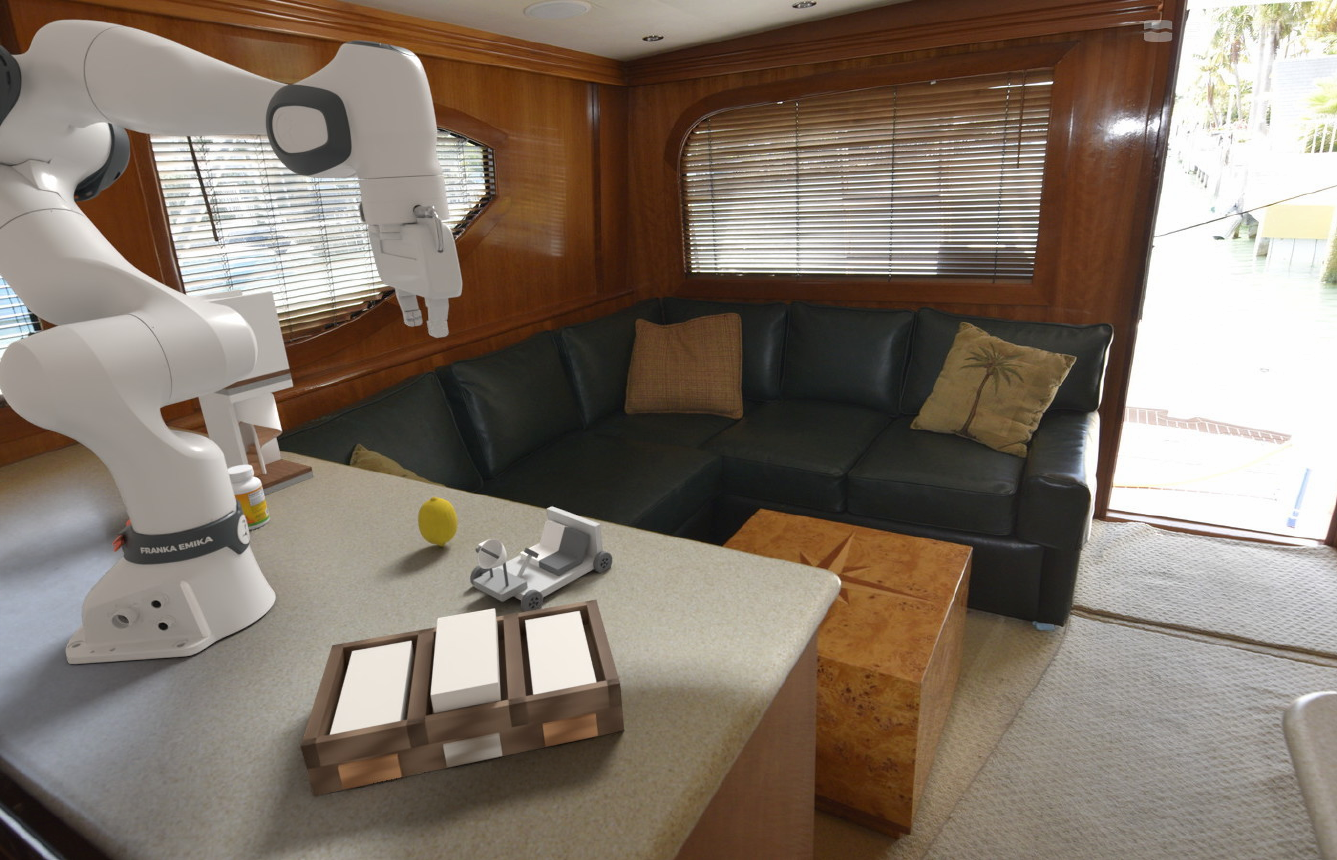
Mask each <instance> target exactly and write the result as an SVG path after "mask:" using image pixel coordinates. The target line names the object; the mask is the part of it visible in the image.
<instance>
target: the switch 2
mask: <svg viewBox="0 0 1337 860" xmlns="http://www.w3.org/2000/svg"><path fill="white" fill-rule="evenodd" d="M496 617H497V612H496V608H490V609H484V610H476V611H472V612H471V611H470V612H466V613H459V614H455V615H448V616H442V617H438V618H437V622H436V627H437V631H436V642H435V653H434V663H433V674H432V685H431V700H432V705H433V711H434V713H438V712H443V711H448V710H453V709H458V708H463V707H469V706H474V705H479V704H484V703H489V702H494V701H499V700H501V695H500V673H499V650H498V628H497V619H496Z"/></svg>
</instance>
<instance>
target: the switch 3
mask: <svg viewBox="0 0 1337 860" xmlns="http://www.w3.org/2000/svg"><path fill="white" fill-rule="evenodd" d="M525 623H526V632H527V641H528V650H529V660H530V669H531V678H532V687H533V695H534V694H540V693H545V692H550V691H555V690H560V689H565V688H570V687H575V686H580V685H585V684H590V683H596V678H595V674H594V670H593V665H592V661H591V657H590V653H589V649H588V644H587V640H586V636H585V632H584V628H583V624H582V619H581V615H580V611H576V612H570V613H564V614H559V615H553V616H547V617H542V618H536V619H530V620H525Z"/></svg>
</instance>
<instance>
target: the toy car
mask: <svg viewBox="0 0 1337 860" xmlns="http://www.w3.org/2000/svg"><path fill="white" fill-rule="evenodd" d="M546 515H547V519H545V522H544V526H543V529H542V533H541V537H540V540H539V542H538V543H536V544H534V545H533V546H530V547H525V549H524V550H523V551H521V552H519V555H518V556H515V557H513V558H511V559H510V560H507V559H508V558H507V557H508V555H507V554H508V553H507V550H506V547H505V546H504V544H503V542H502V541H501V539H500V538H497V537H493V538H489V539H487V540H484V541H482V542H480V543H478V544H477V546H478V547H476V548H475V552H476V554H477V564H478V565H477V566H475V567H474V568H473V570H472V571H471V573H470V577H469V581H470V583H471V585H472V586H474V587H473V588H476V589H477V590H479V591H481V592H483V593H485V594H487V595H489V596H491V597H492V598H494V599H496V600H498V601H500V602H502V603H504V602H505V601H507V600H508V599H510V598H513V597H514V598H515V599H518V600H520V608H521V610H522V612H527V611H533V610H539V609H542V606H543V603H544V597H545V598H546V596H548V595H550V594H552V593H554V592H555V591H557V590H559V589H561V588H562V587H564V586H566V585H568V584H570V583H572V582H574V581H575V580H577V579H578V578H580V577H582V576H584V575H586V574H587V573H589V572H592V571H595V572H597V573H598V574H601V573H603V572H604V571H606V570H608V569H611V567H612V566H613V565H612V564H613V556H612V554H611V553H610V552H608V551H606V550H603V539H602V527H601V523H600V522H596V521H593V520H591V519H587V518H585V517H583V516H579V515H576V514H574V513H571V512H568V511H567V510H563V509H560V508H557V507H554V506H550V507H548V508H546Z"/></svg>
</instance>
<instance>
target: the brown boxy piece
mask: <svg viewBox="0 0 1337 860" xmlns="http://www.w3.org/2000/svg"><path fill="white" fill-rule="evenodd" d="M576 611H580V615H581V619H582V624H583V628H584V632H585V636H586V640H587V644H588V649H589V653H590V657H591V661H592V665H593V670H594V674H595V678H596V683H590V684H585V685H580V686H575V687H570V688H565V689H560V690H555V691H550V692H545V693H540V694H534V695H533V687H532V678H531V669H530V660H529V650H528V641H527V632H526V623H525V620H530V619H536V618H542V617H547V616H553V615H559V614H564V613H570V612H576ZM496 619H497V628H498V650H499V673H500V695H501V700H499V701H494V702H489V703H484V704H479V705H474V706H469V707H463V708H458V709H453V710H448V711H443V712H438V713H434V711H433V705H432V700H431V685H432V674H433V663H434V653H435V642H436V631H437V626H436V627H430V628H424V629H423V628H422V629H419V630H413V631H407V632H400V633H396V634H391V635H390V634H389V635H385V636H383V635H382V636H377V637H371V638H366V639H361V640H355V641H350V642H343V643H337V644H333V645H331V647H330V651H329V654H328V657H327V661H326V664H325V667H324V671H323V674H322V676H321V677H322V678H321V680H320V684H319V686H318V690H317V693H316V696H315V699H314V701H313V704H312V705H313V706H312V709H311V712H310V715H309V719H308V720H307V725H306V728H305V730H304V731H305V732H304V734H303V738H302V740H301V743H300V746H299V747H300V749H301V753H302V757H303V762H304V766H305V769H306V772H307V776H308V780H309V784H310V789H311V792H312V796H313V797H316V796H321V795H326V794H330V793H335V792H339V791H344V790H345V791H346V790H349V789H350V790H351V789H354V788H358V787H364V786H369V785H374V784H377V782H378V783H382V782H381V781H383V782H387V781H386V780H388V781H392V780H397V779H401V777H402V778H406V777H405V776H407V777H410V776H415V774H416V775H420V774H419V773H421V774H425V773H424V772H426V773H428V771H430V772H434V771H439V770H443V769H449V768H453V767H458V766H459V767H460V766H463V765H467V764H471V763H476V762H477V763H478V762H482V761H487V760H492V759H497V758H500V757H501V758H502V757H505V756H509V755H510V756H511V755H515V754H520V753H523V752H529V751H533V750H534V751H535V750H537V749H543V748H547V747H552V746H558V745H562V744H567V743H572V742H577V741H580V740H581V741H582V740H584V739H591V738H595V737H600V736H606V735H609V734H613V733H619V732H623V731H625V723H624V722H625V721H624V712H623V702H622V699H623V698H622V689H621V687H622V686H621V681H620V679H619V674H618V671H617V668H616V667H617V666H616V665H615V661H614V657H613V654H612V653H613V652H612V651H611V646H610V643H609V640H608V635H607V633H606V629H605V626H604V622H603V618H602V615H601V612H600V608H599V604H598V601H597V599H592V600H587V601H580V602H574V603H569V604H562V605H556V606H551V607H550V606H549V607H545V608H539V609H537V610H533V611H527V612H524V611H522V612H515V613H511V614H505V615H500V616H496ZM407 641H412V645H413V650H414V655H415V659H414V666H413V674H412V681H411V689H410V696H409V704H408V711H407V719H406V720H402V721H397V722H392V723H387V724H382V725H377V726H372V727H367V728H361V729H356V730H351V731H346V732H341V733H336V734H331V735H330V732H331V728H332V725H333V721H334V717H335V714H336V710H337V706H338V702H339V699H340V695H341V691H342V687H343V684H344V680H345V676H346V673H347V669H348V665H349V661H350V658H351V654H352V651H356V650H362V649H367V648H373V647H379V646H384V645H390V644H396V643H401V642H407ZM396 778H397V779H396ZM391 779H392V780H391ZM373 783H374V784H373Z"/></svg>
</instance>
